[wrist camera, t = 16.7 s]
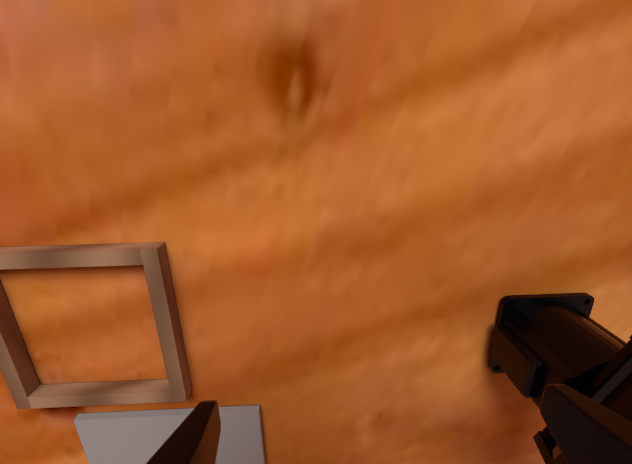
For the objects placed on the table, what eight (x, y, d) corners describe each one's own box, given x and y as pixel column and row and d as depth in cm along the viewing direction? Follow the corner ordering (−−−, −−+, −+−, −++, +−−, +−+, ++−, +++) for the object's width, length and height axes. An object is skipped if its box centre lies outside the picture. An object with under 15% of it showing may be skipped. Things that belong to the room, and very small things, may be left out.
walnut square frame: (164, 242, 21) (156, 249, 20) (192, 388, 25) (186, 401, 24) (-30, 248, 20) (-49, 255, 19) (30, 395, 24) (17, 409, 23)
